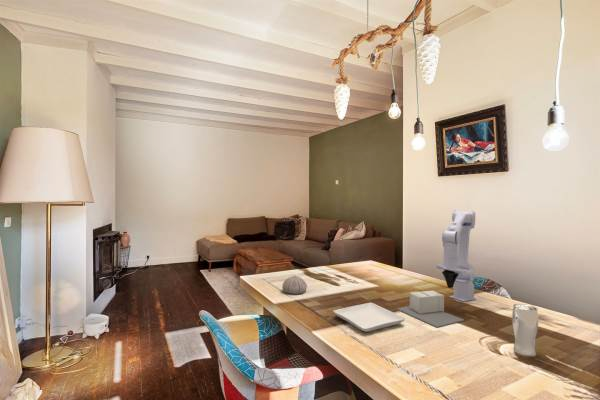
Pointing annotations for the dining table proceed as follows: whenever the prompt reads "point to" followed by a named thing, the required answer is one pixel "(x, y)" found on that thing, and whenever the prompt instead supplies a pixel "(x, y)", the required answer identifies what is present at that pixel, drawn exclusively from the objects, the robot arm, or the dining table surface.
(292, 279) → the sea urchin shell
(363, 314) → the salad plate
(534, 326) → the beer glass
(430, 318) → the mat
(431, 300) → the supplement box
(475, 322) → the dining table surface
